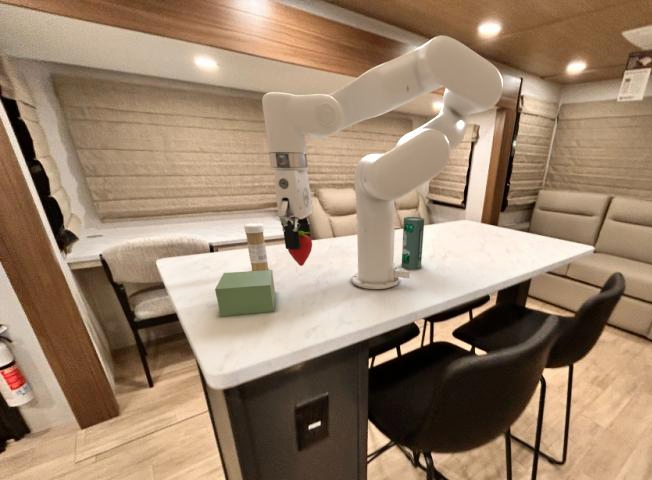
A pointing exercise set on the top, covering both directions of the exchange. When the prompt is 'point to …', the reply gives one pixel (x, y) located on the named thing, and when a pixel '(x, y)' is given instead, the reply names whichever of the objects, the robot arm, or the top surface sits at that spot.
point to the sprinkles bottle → (256, 246)
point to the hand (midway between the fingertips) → (299, 243)
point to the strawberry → (302, 248)
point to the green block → (245, 292)
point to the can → (412, 242)
